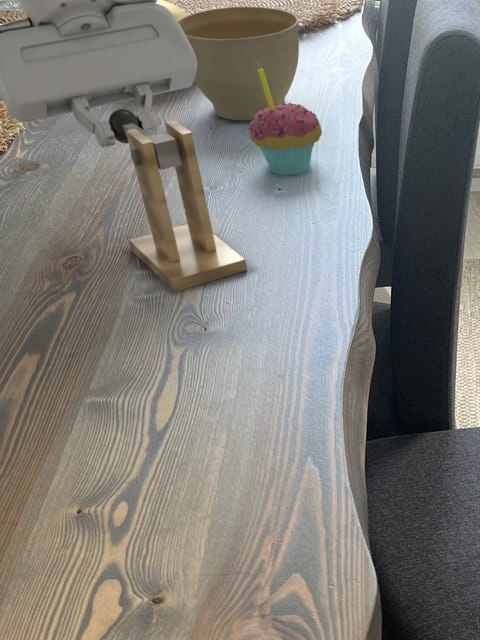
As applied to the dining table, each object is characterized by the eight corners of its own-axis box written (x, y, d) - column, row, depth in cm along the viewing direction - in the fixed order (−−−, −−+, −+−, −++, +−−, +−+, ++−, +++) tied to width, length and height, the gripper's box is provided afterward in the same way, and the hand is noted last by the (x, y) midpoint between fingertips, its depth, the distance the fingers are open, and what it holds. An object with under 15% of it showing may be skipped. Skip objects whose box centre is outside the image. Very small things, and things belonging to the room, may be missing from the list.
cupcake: (266, 186, 120) (247, 75, 111) (247, 162, 125) (228, 55, 117) (334, 173, 122) (321, 64, 114) (313, 151, 128) (299, 44, 119)
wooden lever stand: (131, 250, 108) (97, 123, 99) (200, 231, 111) (173, 106, 102) (174, 292, 101) (141, 158, 92) (247, 270, 104) (222, 139, 95)
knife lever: (109, 142, 106) (99, 109, 104) (137, 136, 108) (129, 103, 106) (157, 175, 98) (148, 140, 96) (187, 168, 99) (179, 133, 97)
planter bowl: (264, 138, 131) (249, 44, 124) (168, 121, 137) (147, 30, 129) (332, 100, 141) (321, 12, 134) (239, 86, 147) (224, 0, 139)
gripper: (-35, 8, 97) (30, 143, 98) (165, -25, 105) (223, 101, 106) (-30, 49, 103) (31, 177, 104) (159, 15, 111) (214, 134, 112)
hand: (130, 138), depth 105 cm, fingers closed on knife lever, 3 cm apart
